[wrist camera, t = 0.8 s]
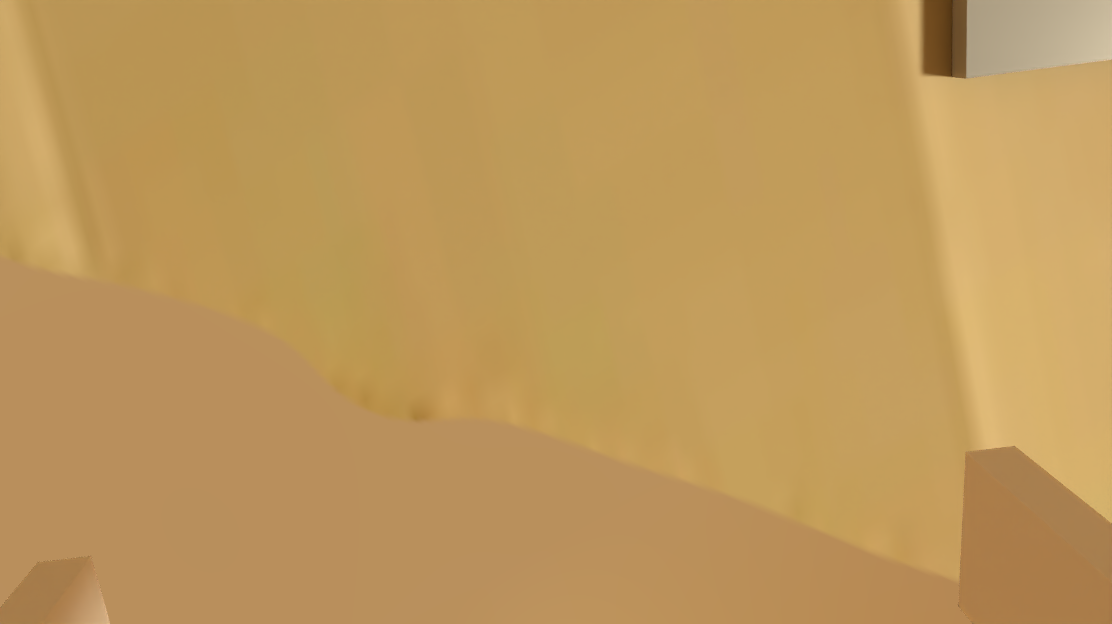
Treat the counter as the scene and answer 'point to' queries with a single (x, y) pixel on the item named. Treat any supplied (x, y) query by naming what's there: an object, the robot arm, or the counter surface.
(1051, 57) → the baseplate
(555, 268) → the counter surface
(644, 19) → the counter surface
